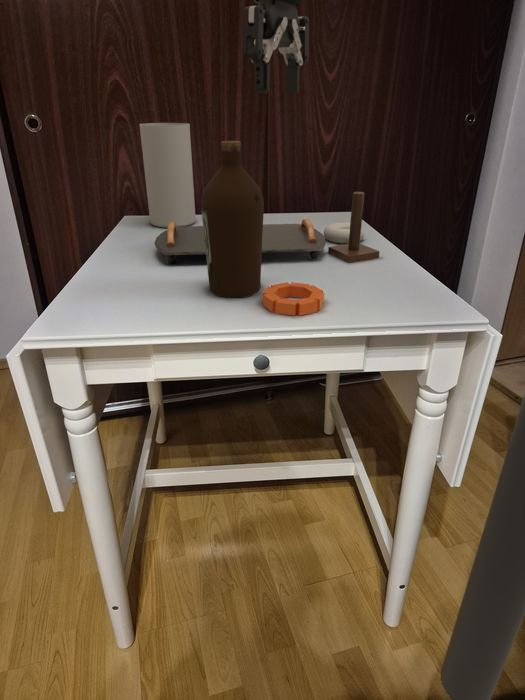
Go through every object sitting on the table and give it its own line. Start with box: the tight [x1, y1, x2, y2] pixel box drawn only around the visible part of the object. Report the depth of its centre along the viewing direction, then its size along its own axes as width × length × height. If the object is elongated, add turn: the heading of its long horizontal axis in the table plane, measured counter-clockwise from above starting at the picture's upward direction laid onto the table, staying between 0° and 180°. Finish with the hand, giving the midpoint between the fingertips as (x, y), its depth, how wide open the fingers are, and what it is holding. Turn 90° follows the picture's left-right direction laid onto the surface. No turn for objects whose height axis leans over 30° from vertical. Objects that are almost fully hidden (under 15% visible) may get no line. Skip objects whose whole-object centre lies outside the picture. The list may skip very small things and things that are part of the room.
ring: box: [261, 281, 325, 317], centre depth 82 cm, size 10×10×2 cm
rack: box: [327, 191, 381, 264], centre depth 104 cm, size 8×8×14 cm
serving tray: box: [154, 218, 327, 265], centre depth 110 cm, size 39×23×6 cm, turn 96°
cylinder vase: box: [139, 122, 196, 229], centre depth 129 cm, size 12×12×25 cm
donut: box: [323, 222, 366, 244], centre depth 118 cm, size 10×4×10 cm
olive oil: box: [200, 140, 265, 299], centre depth 83 cm, size 11×11×25 cm
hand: (277, 93), depth 74 cm, fingers open, 8 cm apart
